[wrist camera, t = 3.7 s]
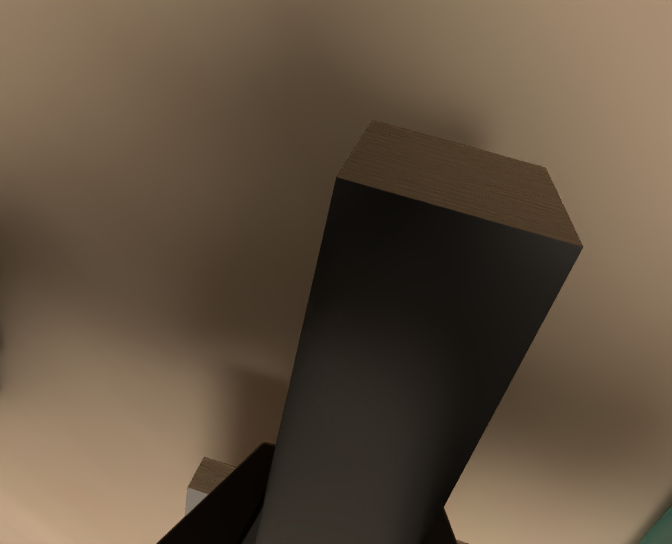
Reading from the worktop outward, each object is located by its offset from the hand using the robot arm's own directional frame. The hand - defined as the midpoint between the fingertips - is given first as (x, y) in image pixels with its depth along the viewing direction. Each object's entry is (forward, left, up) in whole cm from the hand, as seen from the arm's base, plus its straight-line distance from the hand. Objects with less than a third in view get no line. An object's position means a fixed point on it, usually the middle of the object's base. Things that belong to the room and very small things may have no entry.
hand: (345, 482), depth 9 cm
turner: (0, -1, -1) cm, 1 cm away
